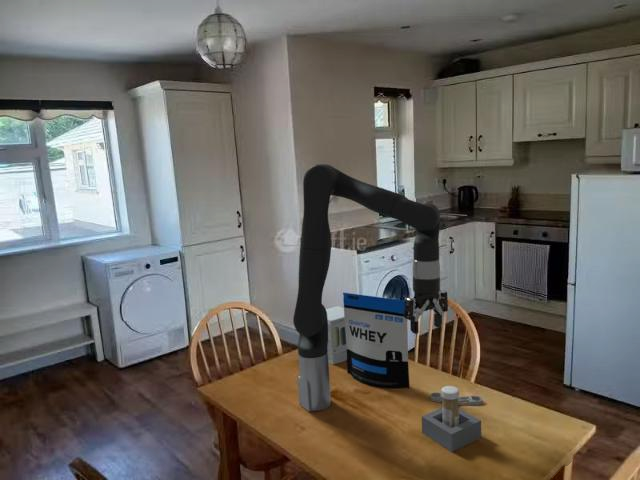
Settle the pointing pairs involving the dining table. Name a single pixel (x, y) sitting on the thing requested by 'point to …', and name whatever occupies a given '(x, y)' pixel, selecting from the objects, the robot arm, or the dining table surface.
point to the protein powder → (376, 341)
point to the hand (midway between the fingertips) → (426, 329)
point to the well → (451, 429)
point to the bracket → (471, 399)
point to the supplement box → (336, 335)
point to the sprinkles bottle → (450, 406)
